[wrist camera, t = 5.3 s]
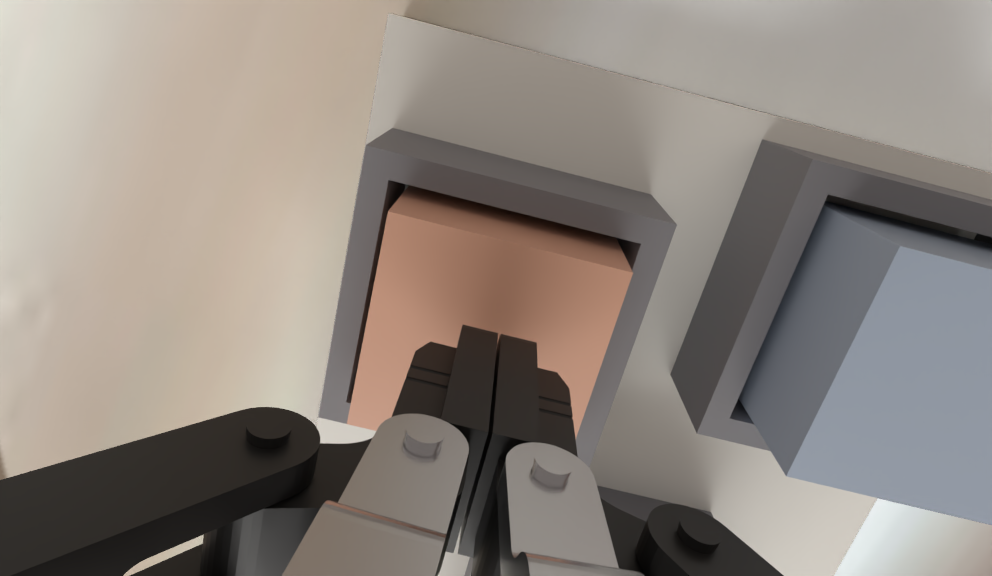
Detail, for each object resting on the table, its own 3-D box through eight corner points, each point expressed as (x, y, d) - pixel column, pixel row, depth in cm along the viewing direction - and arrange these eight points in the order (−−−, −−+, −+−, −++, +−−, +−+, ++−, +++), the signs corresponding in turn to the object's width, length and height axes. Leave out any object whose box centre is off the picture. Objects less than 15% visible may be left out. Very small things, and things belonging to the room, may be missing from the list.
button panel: (996, 174, 18) (1162, 219, 13) (742, 655, 25) (793, 797, 20) (402, 16, 17) (358, 5, 13) (303, 558, 24) (250, 683, 19)
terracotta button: (608, 221, 17) (632, 272, 13) (555, 387, 18) (563, 474, 15) (418, 173, 16) (388, 211, 13) (382, 346, 18) (346, 424, 14)
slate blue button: (1006, 248, 15) (1162, 314, 12) (908, 424, 17) (1017, 531, 13) (806, 195, 15) (900, 246, 11) (727, 380, 17) (785, 476, 13)
